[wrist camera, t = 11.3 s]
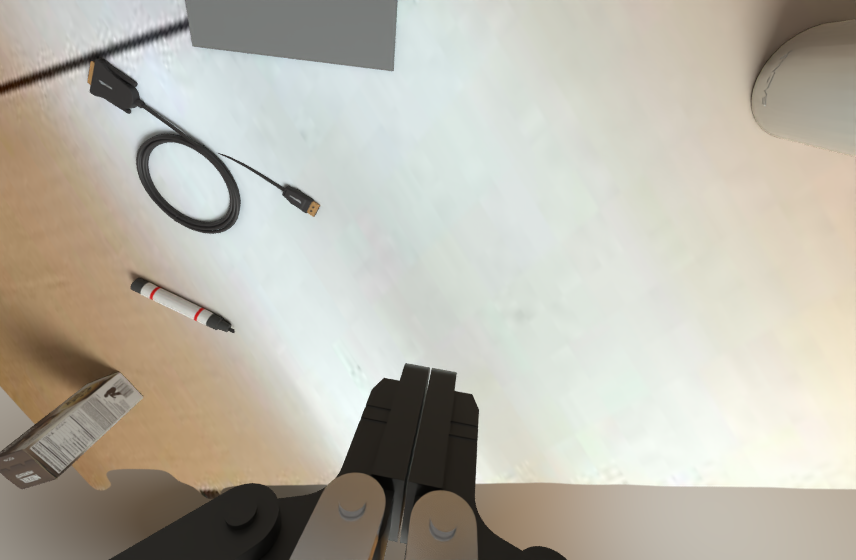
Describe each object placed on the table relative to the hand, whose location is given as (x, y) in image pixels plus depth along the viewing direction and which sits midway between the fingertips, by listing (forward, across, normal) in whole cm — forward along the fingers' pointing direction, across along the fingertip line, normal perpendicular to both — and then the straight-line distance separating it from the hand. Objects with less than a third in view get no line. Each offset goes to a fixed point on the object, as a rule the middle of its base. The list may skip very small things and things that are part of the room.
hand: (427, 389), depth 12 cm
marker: (+36, +38, +27) cm, 58 cm away
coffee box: (+35, +56, +48) cm, 82 cm away
